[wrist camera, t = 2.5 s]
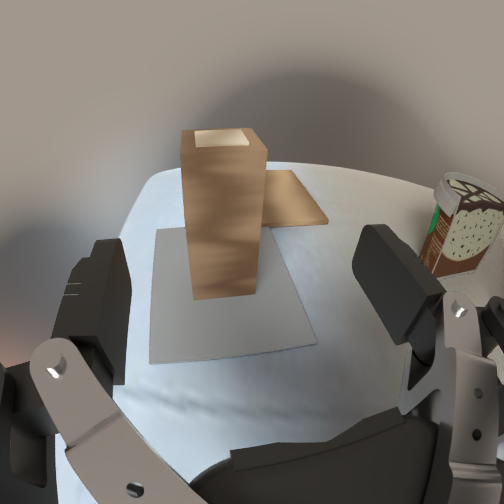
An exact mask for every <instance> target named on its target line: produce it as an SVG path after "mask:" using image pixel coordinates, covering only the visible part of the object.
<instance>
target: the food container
mask: <svg viewBox="0 0 504 504" xmlns="http://www.w3.org/2000/svg"><path fill="white" fill-rule="evenodd" d="M434 198H435V200H436V202H437V205H436V208H435V212H434V215H433V218H432V222H431V225H430V228H429V231H428V234H427V237H426V240H425V243H424V246H423V249H422V252H421V255H420V259H421V260H422V262H423V265H426V266H427V268H428V269H429V270H430V271H431V272H432V274H433V275H434V276H435V277H436V279H437V280H440V279H445V278H449V277H454V276H458V275H463V274H467V273H472V272H476V270H477V269H478V267H479V266H480V264H481V262H482V261H483V259H484V257H485V256H486V254H487V252H488V251H489V249H490V247H491V246H492V244H493V242H494V240H495V238H496V237H497V235H498V233H499V231H500V229H501V227H502V225H503V223H504V194H503V193H501V192H500V191H499V190H497V189H495V188H494V187H492V186H490V185H488V184H487V183H485V182H483V181H481V180H478V179H476V178H474V177H471V176H468V175H465V174H461V173H456V172H449V173H447V174H445V176H444V177H443V178H442V179H441V180H440V182H439V183H438V185H437V187H436V188H435V190H434Z"/></svg>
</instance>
